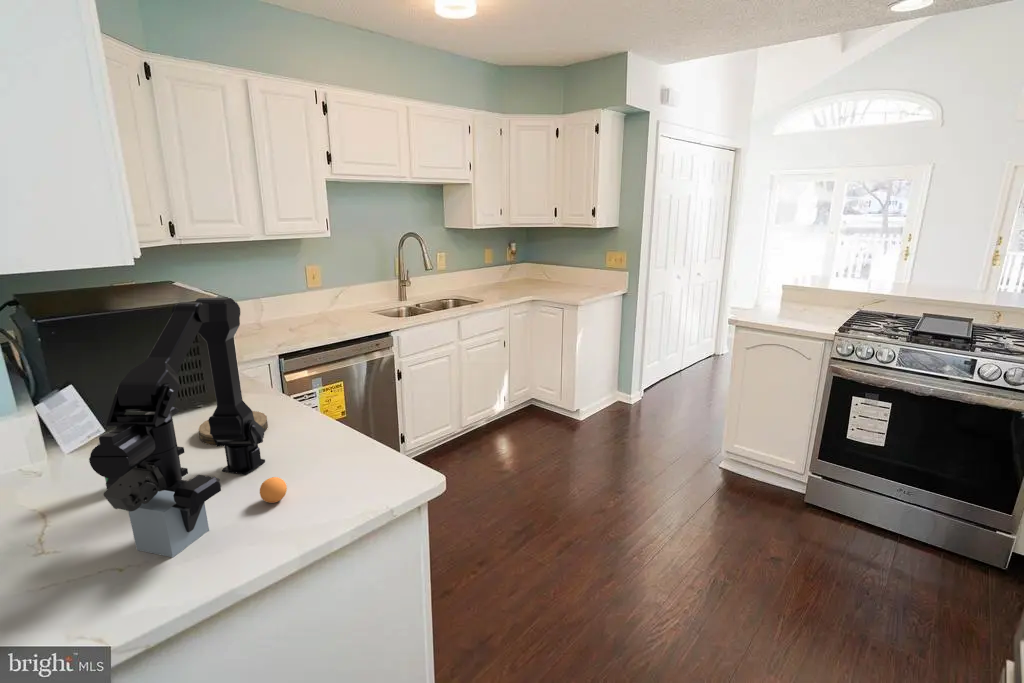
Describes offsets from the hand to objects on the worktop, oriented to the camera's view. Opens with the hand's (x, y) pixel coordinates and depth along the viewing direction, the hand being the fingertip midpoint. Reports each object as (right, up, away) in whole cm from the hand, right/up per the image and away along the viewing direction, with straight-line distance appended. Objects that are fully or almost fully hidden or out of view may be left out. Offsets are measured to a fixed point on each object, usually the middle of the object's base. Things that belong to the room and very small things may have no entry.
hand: (171, 527), depth 89 cm
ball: (+12, +3, +12) cm, 18 cm away
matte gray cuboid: (0, -2, +1) cm, 3 cm away
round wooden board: (-13, +9, +44) cm, 46 cm away
